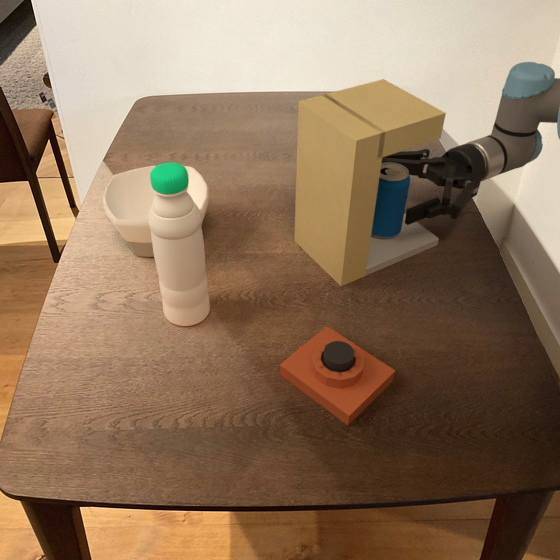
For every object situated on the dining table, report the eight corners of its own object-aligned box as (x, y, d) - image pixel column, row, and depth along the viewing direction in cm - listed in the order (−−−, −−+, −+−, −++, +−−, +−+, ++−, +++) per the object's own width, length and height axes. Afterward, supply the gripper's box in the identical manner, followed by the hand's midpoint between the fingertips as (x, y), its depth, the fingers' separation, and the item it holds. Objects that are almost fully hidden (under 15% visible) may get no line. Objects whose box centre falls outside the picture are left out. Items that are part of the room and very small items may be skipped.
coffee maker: (437, 245, 102) (471, 105, 84) (340, 286, 93) (356, 140, 76) (386, 206, 110) (407, 72, 93) (294, 241, 102) (298, 100, 85)
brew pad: (393, 381, 79) (397, 361, 76) (347, 426, 73) (350, 407, 71) (325, 336, 85) (327, 317, 82) (279, 374, 80) (279, 355, 77)
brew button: (359, 360, 77) (360, 351, 76) (340, 377, 75) (341, 368, 74) (335, 344, 79) (336, 336, 78) (316, 361, 77) (317, 352, 76)
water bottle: (214, 298, 91) (201, 156, 74) (205, 330, 86) (190, 186, 69) (170, 294, 91) (148, 153, 75) (159, 326, 86) (132, 182, 70)
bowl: (112, 275, 95) (101, 229, 89) (111, 214, 108) (101, 170, 101) (220, 260, 98) (216, 214, 92) (206, 202, 111) (202, 159, 105)
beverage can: (371, 215, 106) (379, 157, 98) (405, 225, 103) (416, 166, 95) (358, 234, 101) (366, 175, 93) (394, 245, 99) (404, 185, 91)
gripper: (519, 214, 100) (427, 254, 91) (420, 152, 115) (334, 181, 107) (532, 176, 95) (436, 215, 86) (427, 117, 110) (337, 145, 102)
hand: (379, 197), depth 96 cm, fingers open, 13 cm apart
